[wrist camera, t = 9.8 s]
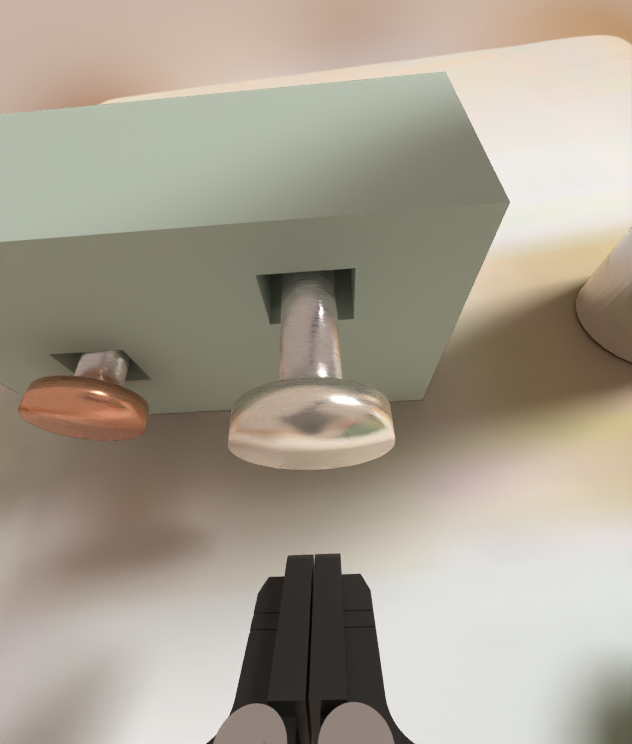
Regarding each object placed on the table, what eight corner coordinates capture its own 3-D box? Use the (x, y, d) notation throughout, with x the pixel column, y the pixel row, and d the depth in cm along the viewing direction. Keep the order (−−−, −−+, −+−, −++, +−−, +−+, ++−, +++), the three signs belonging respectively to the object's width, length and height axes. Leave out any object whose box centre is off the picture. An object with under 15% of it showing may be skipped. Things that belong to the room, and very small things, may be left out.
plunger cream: (264, 252, 21) (241, 156, 16) (357, 245, 21) (362, 145, 16) (249, 472, 14) (202, 420, 10) (385, 466, 14) (407, 410, 9)
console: (101, 312, 31) (-74, 121, 18) (400, 292, 30) (445, 71, 17) (63, 418, 26) (-222, 259, 13) (422, 399, 24) (509, 202, 12)
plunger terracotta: (125, 279, 27) (78, 215, 22) (196, 274, 27) (163, 208, 22) (70, 442, 21) (-14, 402, 16) (162, 438, 20) (106, 395, 16)
